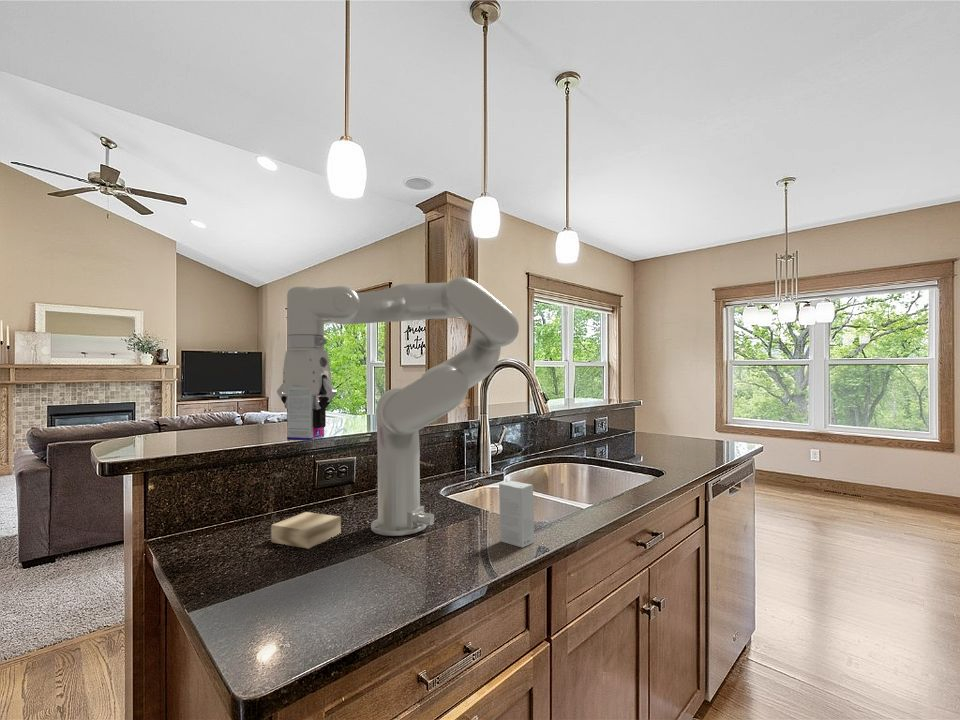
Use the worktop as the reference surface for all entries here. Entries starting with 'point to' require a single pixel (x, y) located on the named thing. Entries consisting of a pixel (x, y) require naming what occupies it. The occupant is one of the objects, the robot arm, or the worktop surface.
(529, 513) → the skincare box
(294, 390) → the supplement box
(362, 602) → the worktop surface
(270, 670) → the worktop surface
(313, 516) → the oak block
